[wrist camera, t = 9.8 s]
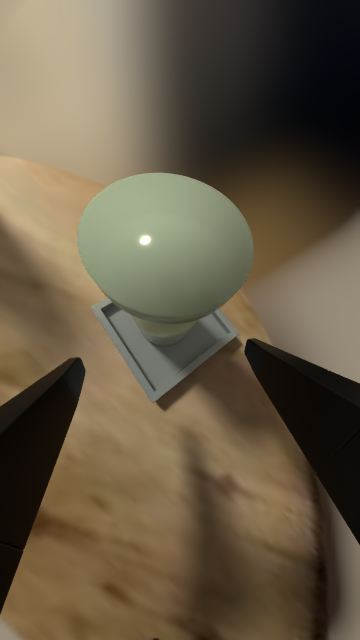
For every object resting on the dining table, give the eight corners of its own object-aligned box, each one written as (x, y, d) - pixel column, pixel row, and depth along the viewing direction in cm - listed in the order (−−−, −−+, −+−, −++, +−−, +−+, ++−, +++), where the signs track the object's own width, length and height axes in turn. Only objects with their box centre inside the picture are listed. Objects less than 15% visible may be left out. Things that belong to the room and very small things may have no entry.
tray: (233, 336, 19) (239, 333, 17) (153, 400, 16) (152, 403, 14) (177, 266, 20) (178, 258, 19) (96, 311, 17) (90, 307, 16)
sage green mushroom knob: (205, 327, 18) (286, 258, 6) (156, 363, 16) (144, 358, 5) (171, 283, 19) (188, 156, 7) (121, 312, 17) (43, 205, 6)
